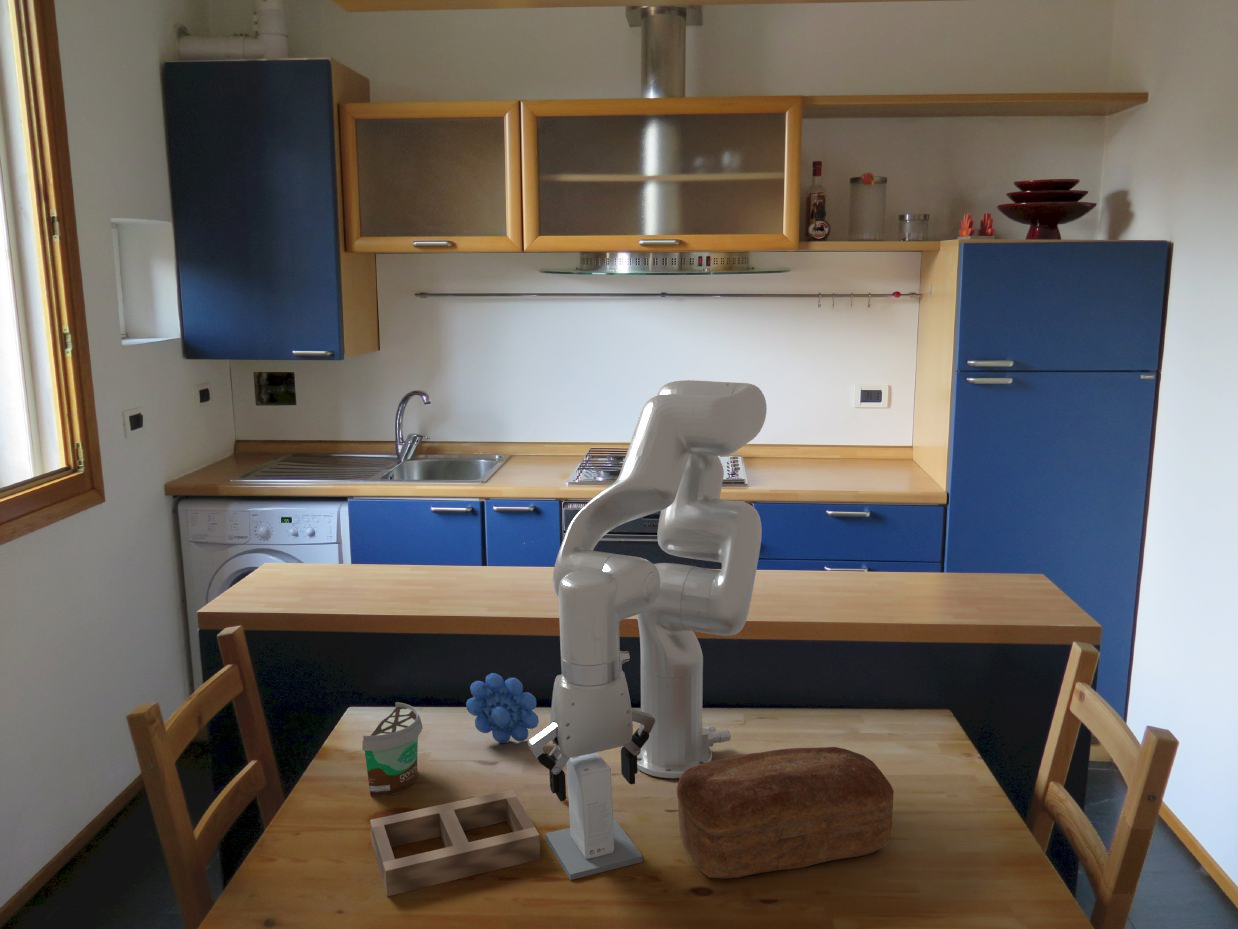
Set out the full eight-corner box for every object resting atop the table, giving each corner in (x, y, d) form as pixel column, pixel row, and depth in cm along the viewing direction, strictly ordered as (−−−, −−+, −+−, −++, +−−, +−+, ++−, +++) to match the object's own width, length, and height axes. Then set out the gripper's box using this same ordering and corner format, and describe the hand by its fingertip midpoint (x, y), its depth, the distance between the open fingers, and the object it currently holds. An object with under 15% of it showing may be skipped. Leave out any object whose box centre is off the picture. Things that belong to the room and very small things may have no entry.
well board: (513, 812, 142) (512, 789, 141) (540, 859, 131) (539, 835, 130) (371, 843, 135) (369, 820, 134) (387, 896, 123) (385, 871, 123)
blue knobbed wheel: (463, 755, 158) (460, 685, 156) (470, 735, 165) (467, 667, 162) (537, 755, 158) (535, 684, 156) (540, 735, 165) (538, 667, 162)
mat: (613, 822, 139) (613, 817, 139) (642, 861, 130) (642, 856, 130) (545, 838, 135) (545, 833, 135) (570, 880, 126) (570, 874, 126)
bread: (666, 835, 136) (666, 752, 134) (853, 804, 143) (856, 725, 141) (700, 896, 123) (700, 805, 121) (904, 859, 130) (909, 773, 128)
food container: (405, 805, 144) (401, 741, 142) (365, 801, 145) (361, 737, 143) (437, 763, 156) (434, 703, 154) (400, 760, 157) (396, 700, 155)
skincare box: (615, 853, 131) (614, 767, 128) (583, 861, 129) (582, 775, 126) (598, 829, 136) (596, 746, 134) (567, 836, 134) (565, 753, 132)
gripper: (641, 644, 134) (643, 760, 138) (517, 667, 128) (522, 788, 132) (664, 666, 127) (666, 786, 131) (534, 691, 121) (540, 818, 125)
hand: (594, 787), depth 131 cm, fingers open, 9 cm apart
